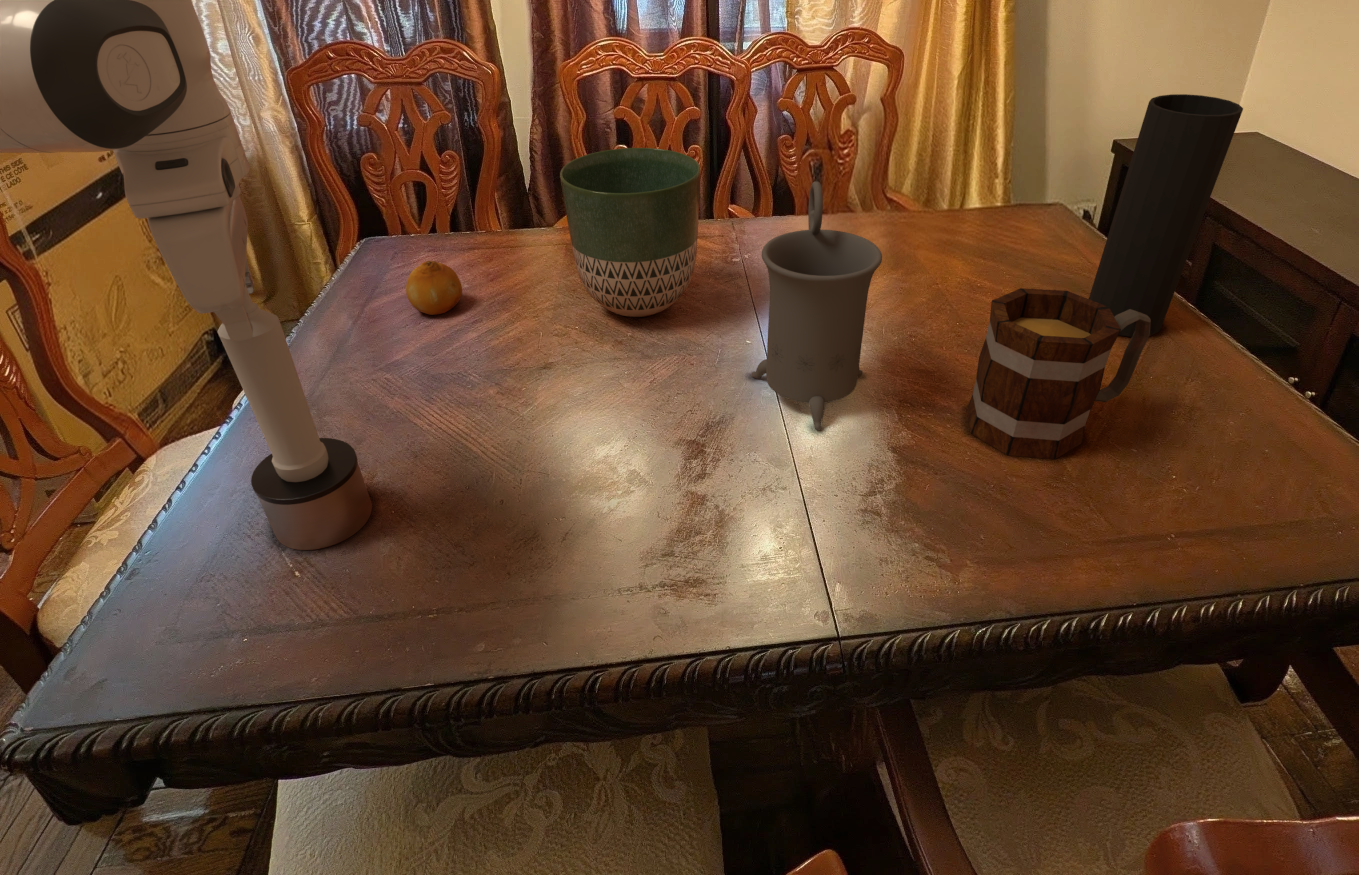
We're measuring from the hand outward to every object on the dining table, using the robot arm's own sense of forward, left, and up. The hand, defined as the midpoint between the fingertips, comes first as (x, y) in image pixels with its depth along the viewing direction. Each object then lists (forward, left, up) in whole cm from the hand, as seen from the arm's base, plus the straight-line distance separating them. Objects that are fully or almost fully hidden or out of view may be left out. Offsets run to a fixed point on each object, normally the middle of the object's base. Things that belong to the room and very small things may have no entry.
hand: (244, 313), depth 72 cm
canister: (0, 0, -25) cm, 25 cm away
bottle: (0, 0, -18) cm, 18 cm away
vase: (+94, -58, -25) cm, 113 cm away
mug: (+62, -57, -25) cm, 88 cm away
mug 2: (+52, -30, -25) cm, 65 cm away
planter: (+57, +3, -25) cm, 62 cm away
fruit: (+39, +29, -25) cm, 55 cm away
